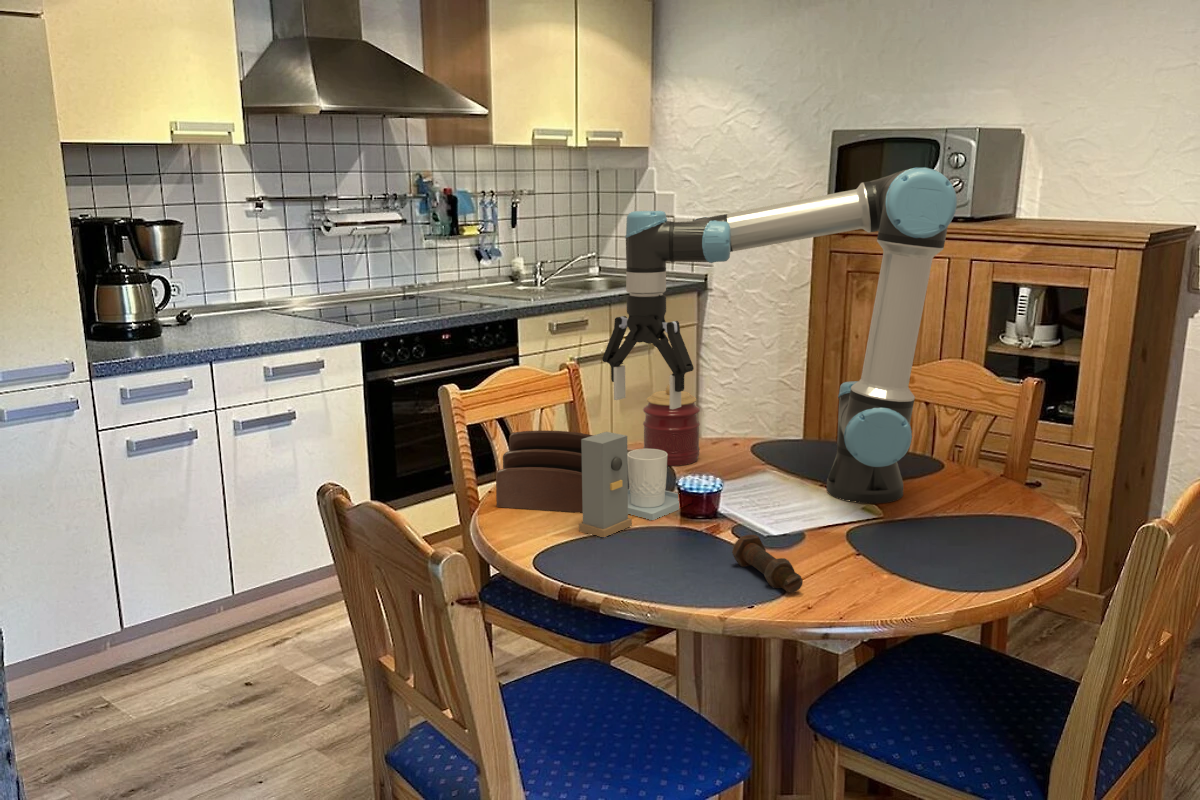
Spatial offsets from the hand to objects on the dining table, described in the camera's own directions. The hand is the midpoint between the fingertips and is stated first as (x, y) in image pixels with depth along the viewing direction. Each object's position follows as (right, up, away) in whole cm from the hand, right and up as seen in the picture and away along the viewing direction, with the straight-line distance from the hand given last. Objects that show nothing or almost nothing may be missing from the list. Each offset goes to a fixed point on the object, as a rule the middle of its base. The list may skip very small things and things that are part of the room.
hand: (646, 403), depth 193 cm
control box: (-8, -23, -9) cm, 26 cm away
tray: (0, -20, +4) cm, 21 cm away
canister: (+7, -13, +37) cm, 40 cm away
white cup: (0, -20, +4) cm, 20 cm away
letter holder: (-19, -20, +7) cm, 29 cm away
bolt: (+18, -29, -32) cm, 47 cm away
